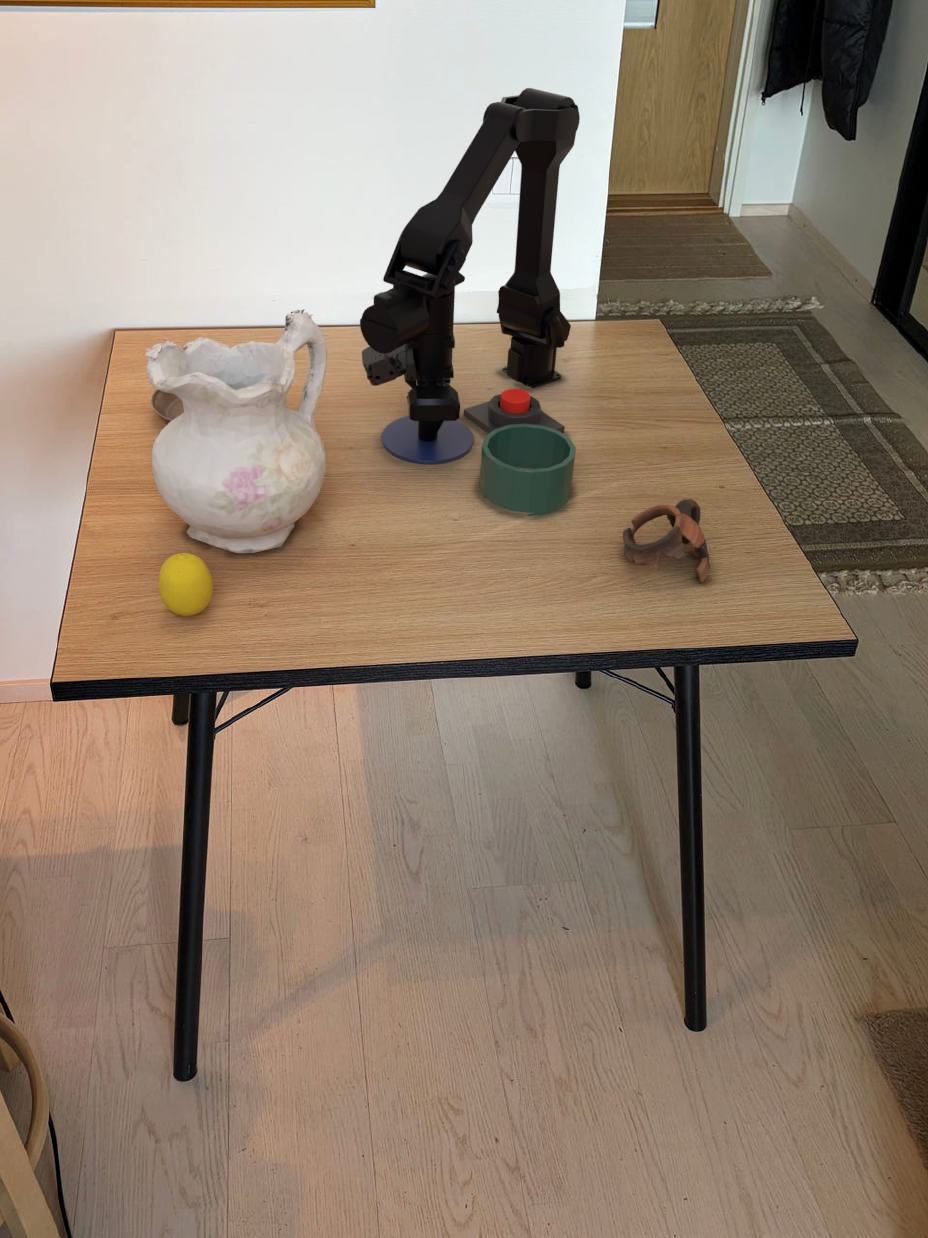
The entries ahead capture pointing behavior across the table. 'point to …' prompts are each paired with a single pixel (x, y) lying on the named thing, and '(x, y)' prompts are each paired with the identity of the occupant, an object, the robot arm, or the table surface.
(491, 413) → the switch block
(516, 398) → the button
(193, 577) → the lemon
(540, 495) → the pot
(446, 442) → the lid
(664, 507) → the broken clay ring
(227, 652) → the table surface
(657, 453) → the table surface
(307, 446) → the ceramic pitcher
